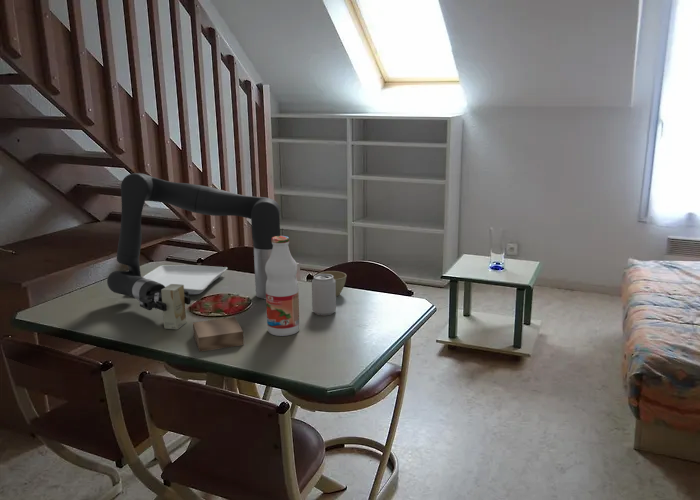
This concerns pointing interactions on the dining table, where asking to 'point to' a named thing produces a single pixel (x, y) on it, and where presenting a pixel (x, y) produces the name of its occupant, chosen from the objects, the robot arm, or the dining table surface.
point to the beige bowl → (337, 280)
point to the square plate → (186, 276)
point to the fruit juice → (282, 290)
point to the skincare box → (174, 306)
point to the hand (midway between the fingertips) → (177, 304)
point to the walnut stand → (218, 334)
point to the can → (323, 294)
